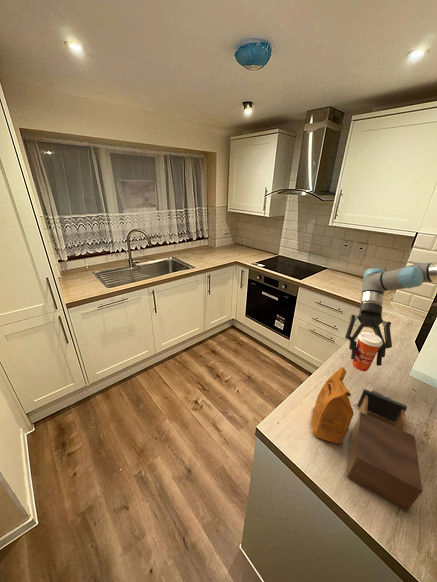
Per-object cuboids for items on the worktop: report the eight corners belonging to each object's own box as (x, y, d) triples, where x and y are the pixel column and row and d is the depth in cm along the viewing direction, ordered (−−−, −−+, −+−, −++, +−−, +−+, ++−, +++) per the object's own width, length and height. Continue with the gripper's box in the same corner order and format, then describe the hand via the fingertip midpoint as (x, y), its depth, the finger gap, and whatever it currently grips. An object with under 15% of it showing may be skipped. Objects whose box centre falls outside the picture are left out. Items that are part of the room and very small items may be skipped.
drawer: (358, 394, 89) (364, 379, 86) (397, 410, 84) (405, 394, 80) (354, 436, 74) (361, 420, 71) (401, 459, 68) (411, 443, 65)
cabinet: (351, 431, 77) (360, 411, 73) (402, 455, 70) (414, 435, 66) (346, 477, 65) (356, 456, 61) (406, 511, 58) (422, 491, 54)
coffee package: (341, 416, 82) (360, 368, 72) (343, 449, 71) (365, 399, 62) (311, 405, 85) (325, 358, 76) (309, 436, 75) (325, 386, 65)
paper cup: (350, 369, 90) (361, 340, 84) (348, 357, 97) (358, 329, 91) (373, 375, 88) (386, 345, 82) (370, 362, 94) (381, 334, 88)
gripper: (397, 313, 94) (393, 370, 87) (340, 303, 101) (333, 355, 94) (406, 307, 87) (403, 369, 80) (345, 297, 94) (337, 353, 87)
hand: (365, 361), depth 87 cm, fingers closed on paper cup, 8 cm apart
